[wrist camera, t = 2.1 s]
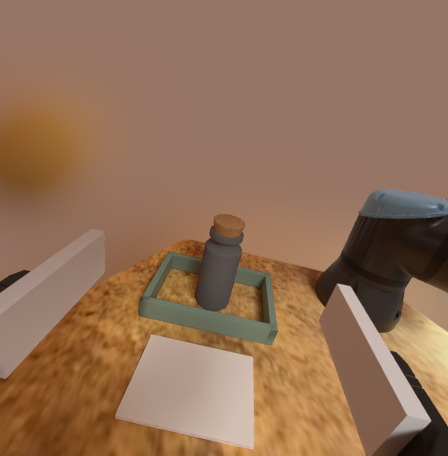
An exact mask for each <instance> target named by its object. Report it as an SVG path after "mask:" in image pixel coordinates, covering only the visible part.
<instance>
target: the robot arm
mask: <svg viewBox="0 0 448 456" xmlns="http://www.w3.org/2000/svg"><path fill="white" fill-rule="evenodd" d="M104 273H105V232H104V231H100V230H95V229H90V230H89V231H87V232H86V233H84V234H83V235H82V236H80V237H79V238H77V239H76V240H75V241H73V242H72V243H70V244H69V245H67V246H66V247H65V248H63V249H62V250H60V251H59V252H58V253H56V254H55V255H53V256H52V257H50V258H49V259H48V260H46V261H45V262H43V263H42V264H41V265H39V266H38V267H37V268H35V269H33V270H32V271H27V270H23V271H20V272H18V273H15V274H12V275H10V276H8V277H7V278H5V279H4V280H2V281H1V282H0V378H4V379H6V378H7V377H8V376H9V375H10V374H11V373H12V372H13V371H14V370H15V369H16V368H17V366H18V365H19V364H20V363H21V362H22V361H23V360H24V359H25V358H26V357H27V356H28V355H29V354H30V352H31V351H32V350H33V349H34V348H35V347H36V346H37V345H38V344H39V343H40V342H41V341H42V340H43V338H44V337H45V336H46V335H47V334H48V333H49V332H50V331H51V330H52V329H53V328H54V327H55V326H56V325H57V323H58V322H59V321H60V320H61V319H62V318H63V317H64V316H65V315H66V314H67V313H68V312H69V311H70V309H71V308H72V307H73V306H74V305H75V304H76V303H77V302H78V301H79V300H80V299H81V298H82V297H83V295H84V294H85V293H86V292H87V291H88V290H89V289H90V288H91V287H92V286H93V285H94V284H95V283H96V281H97V280H98V279H99V278H100V277H101V276H102V275H103V274H104ZM412 277H414V278H416V279H418V280H421V281H423V282H426V283H428V284H430V285H432V286H434V287H436V288H438V289H441V290H443V291H445V292H447V293H448V200H447V199H442V198H438V197H435V196H430V195H426V194H420V193H414V192H408V191H400V190H389V189H382V190H377V191H375V192H373V193H371V194H370V195H369V197H368V198H367V200H366V202H365V204H364V206H363V208H362V209H361V210H360V211H359V216H358V218H357V220H356V222H355V225H354V227H353V229H352V231H351V233H350V236H349V237H348V240H347V242H346V244H345V246H344V248H343V250H342V252H341V255H340V256H339V258H338V259H337V260H336V261H335V262H334V263H333V264H332V265H331V266H330V267H329V268H328V269H327V270H326V271H325V272H324V273H323V274H322V275H321V276H320V278H319V280H318V282H317V284H316V292H317V295H318V297H319V299H320V300H321V301H322V303H323V304H324V305H325V306H326V307H325V309H324V311H323V313H322V315H321V317H320V319H319V321H320V324H321V327H322V330H323V333H324V336H325V338H326V341H327V344H328V347H329V350H330V353H331V356H332V359H333V361H334V364H335V367H336V370H337V373H338V376H339V379H340V382H341V385H342V387H343V390H344V393H345V396H346V399H347V402H348V405H349V408H350V410H351V413H352V416H353V419H354V422H355V425H356V428H357V431H358V433H359V436H360V439H361V442H362V445H363V448H364V451H365V454H366V456H448V426H447V424H446V423H445V421H444V420H443V418H442V417H441V415H440V414H439V412H438V411H437V409H436V407H435V406H434V404H433V403H432V401H431V400H430V398H429V397H428V395H427V393H426V392H425V390H424V389H422V386H421V384H420V383H419V381H418V379H416V378H415V375H414V373H413V372H412V370H411V369H410V367H409V366H408V364H407V363H406V362H405V361H404V360H403V359H402V358H401V357H400V356H399V355H398V354H397V353H396V352H393V351H389V349H388V348H387V346H386V344H385V343H384V341H383V339H382V338H381V336H380V335H379V333H383V332H389V331H391V330H392V329H393V328H394V327H395V326H396V324H397V323H398V321H399V319H400V317H401V310H402V305H403V298H404V291H405V288H406V286H407V284H408V283H409V281H410V280H411V278H412Z"/></svg>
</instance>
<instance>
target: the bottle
mask: <svg viewBox="0 0 448 456" xmlns="http://www.w3.org/2000/svg"><path fill="white" fill-rule="evenodd" d="M244 227H245V223H244V221H243V220H241V219H240V218H238V217H235V216H232V215H227V214H220V215H216V216H215V217H214V226H212V227H211V229H210V237H211V238H210V239H209V240H208V241H206V243H205V247H204V252H203V257H202V262H201V268H200V273H199V278H198V284H197V289H196V296H195V298H196V301H197V303H198V304H199V305H200V306H201V307H203V308H204V309H207V310H210V311H218V310H222V309H224V308H225V307H226V306H227V304H228V302H229V299H230V295H231V291H232V288H233V284H234V280H235V276H236V273H237V269H238V265H239V261H240V257H241V253H242V249H241V247H240V245H239V244H240V243H241V242H242V240H243V233H242V231H243V229H244Z"/></svg>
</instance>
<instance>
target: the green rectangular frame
mask: <svg viewBox="0 0 448 456" xmlns="http://www.w3.org/2000/svg"><path fill="white" fill-rule="evenodd" d="M201 262H202V258H197V257H193V256H188V255H184V254H179V253H175V252H170V251H169V252H168V254H167V256H166V257H165V259H164V261H163V262H162V264H161V266H160V267H159V269H158V271H157V272H156V274H155V276H154V277H153V279H152V281H151V282H150V284H149V286H148V287H147V289H146V291H145V292H144V294H143V296H142V297H141V299H140V305H139V316H142V317H146V318H151V319H155V320H160V321H164V322H169V323H173V324H178V325H182V326H187V327H191V328H196V329H200V330H204V331H209V332H213V333H218V334H222V335H227V336H231V337H236V338H240V339H245V340H249V341H254V342H258V343H263V344H267V345H271V346H272V344H273V342H274V339H275V337H276V334H277V332H278V329H277V321H276V314H275V306H274V298H273V291H272V283H271V275H270V274H269V273H265V272H260V271H256V270H251V269H247V268H242V267H238V269H237V273H236V276H235V280H234V282H236V283H241V284H245V285H250V286H254V287H259V288H261V289H262V304H263V319H264V323H263V322H259V321H254V320H250V319H245V318H241V317H236V316H232V315H227V314H223V313H218V312H214V311H209V310H205V309H201V308H196V307H192V306H187V305H183V304H178V303H174V302H169V301H165V300H160V299H156V296H157V294H158V292H159V290H160V288H161V286H162V284H163V283H164V281H165V279H166V277H167V275H168V273H169V271H170V269H171V268H173V269H178V270H182V271H187V272H191V273H196V274H199V273H200V268H201Z"/></svg>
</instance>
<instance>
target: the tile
mask: <svg viewBox="0 0 448 456" xmlns="http://www.w3.org/2000/svg"><path fill="white" fill-rule="evenodd" d="M115 419H118V420H123V421H127V422H132V423H136V424H141V425H145V426H149V427H154V428H158V429H163V430H167V431H172V432H176V433H180V434H185V435H189V436H194V437H198V438H203V439H207V440H211V441H216V442H220V443H225V444H229V445H234V446H238V447H242V448H247V449H251V450H253V449H254V399H253V357H251V356H247V355H242V354H238V353H233V352H229V351H224V350H220V349H215V348H211V347H206V346H202V345H197V344H193V343H189V342H184V341H180V340H175V339H171V338H166V337H162V336H157V335H153V334H151V337H150V339H149V341H148V343H147V345H146V348H145V350H144V352H143V354H142V356H141V359H140V361H139V363H138V365H137V368H136V370H135V372H134V374H133V376H132V379H131V381H130V383H129V385H128V387H127V390H126V392H125V394H124V396H123V399H122V401H121V403H120V405H119V407H118V410H117V412H116V414H115Z"/></svg>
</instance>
